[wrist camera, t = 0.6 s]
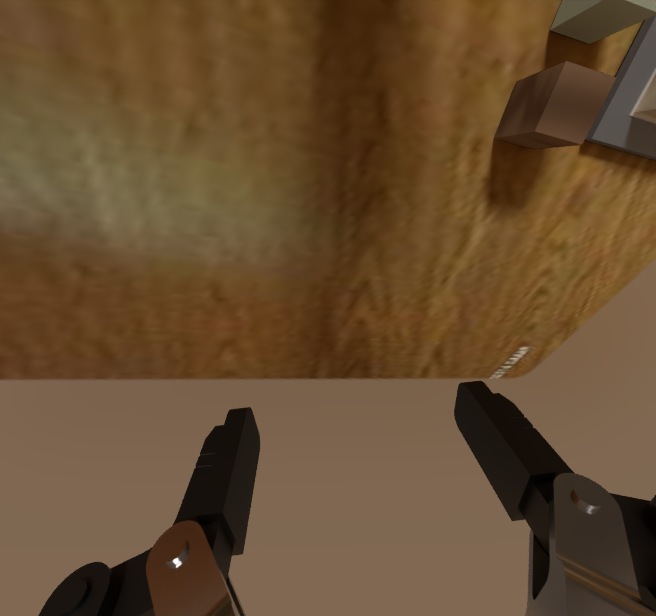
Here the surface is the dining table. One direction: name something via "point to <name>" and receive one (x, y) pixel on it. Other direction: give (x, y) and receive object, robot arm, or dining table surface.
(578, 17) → the sage block
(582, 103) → the walnut block
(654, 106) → the maple slab
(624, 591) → the robot arm
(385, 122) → the dining table surface
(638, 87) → the plate
